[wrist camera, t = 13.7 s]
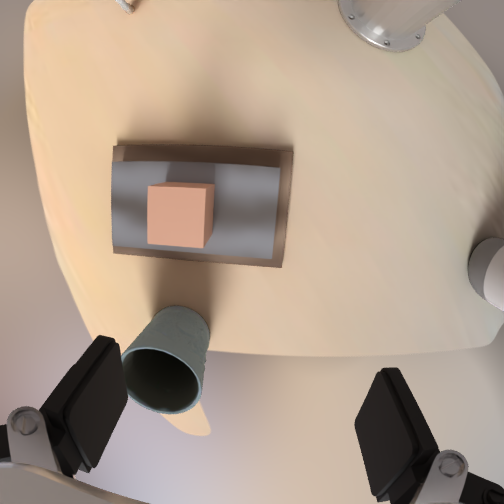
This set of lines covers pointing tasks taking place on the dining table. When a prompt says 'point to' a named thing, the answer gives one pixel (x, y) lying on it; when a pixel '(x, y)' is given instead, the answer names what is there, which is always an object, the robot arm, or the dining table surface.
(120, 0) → the unicorn figurine
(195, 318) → the grey green cup
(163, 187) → the terracotta cube
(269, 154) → the board
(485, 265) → the smart speaker
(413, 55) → the dining table surface
